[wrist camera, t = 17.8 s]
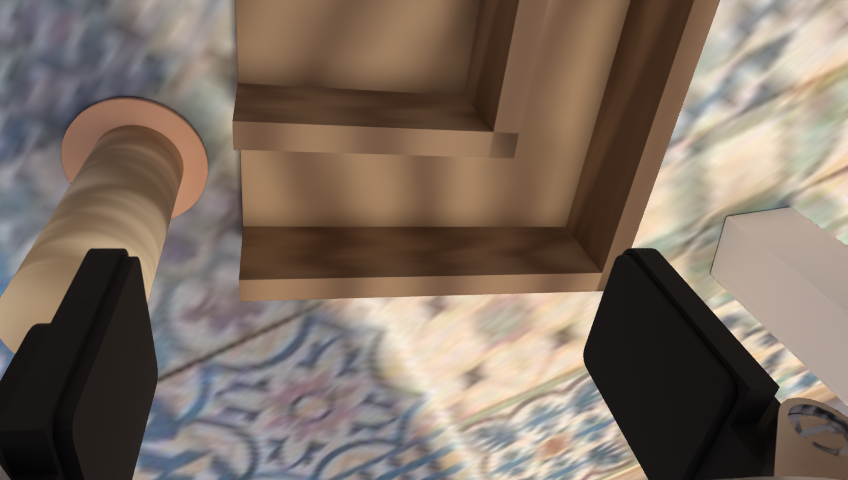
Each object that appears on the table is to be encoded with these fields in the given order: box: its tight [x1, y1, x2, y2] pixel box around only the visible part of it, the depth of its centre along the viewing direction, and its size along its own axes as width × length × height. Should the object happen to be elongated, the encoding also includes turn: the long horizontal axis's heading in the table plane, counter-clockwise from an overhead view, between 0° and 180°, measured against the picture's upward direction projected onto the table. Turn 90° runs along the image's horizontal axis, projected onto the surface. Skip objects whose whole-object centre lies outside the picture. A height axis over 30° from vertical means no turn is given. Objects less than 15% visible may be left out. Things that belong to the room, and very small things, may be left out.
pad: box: [61, 97, 208, 218], centre depth 36 cm, size 8×8×1 cm
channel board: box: [233, 0, 720, 301], centre depth 35 cm, size 24×24×7 cm
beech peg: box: [0, 125, 184, 354], centre depth 30 cm, size 5×5×15 cm
